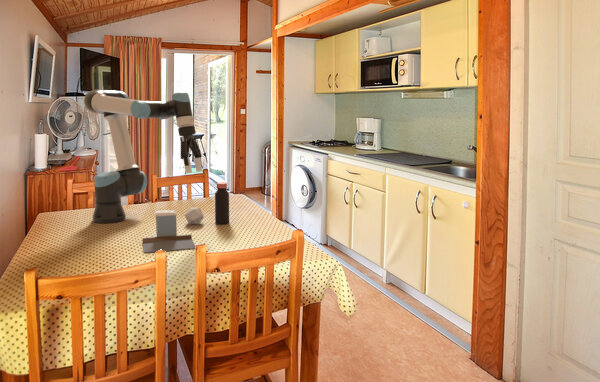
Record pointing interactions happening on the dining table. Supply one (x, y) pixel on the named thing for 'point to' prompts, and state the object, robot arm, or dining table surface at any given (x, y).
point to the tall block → (166, 223)
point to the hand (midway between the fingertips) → (194, 172)
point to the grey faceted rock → (194, 216)
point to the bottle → (222, 204)
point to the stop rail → (167, 238)
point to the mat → (168, 245)
